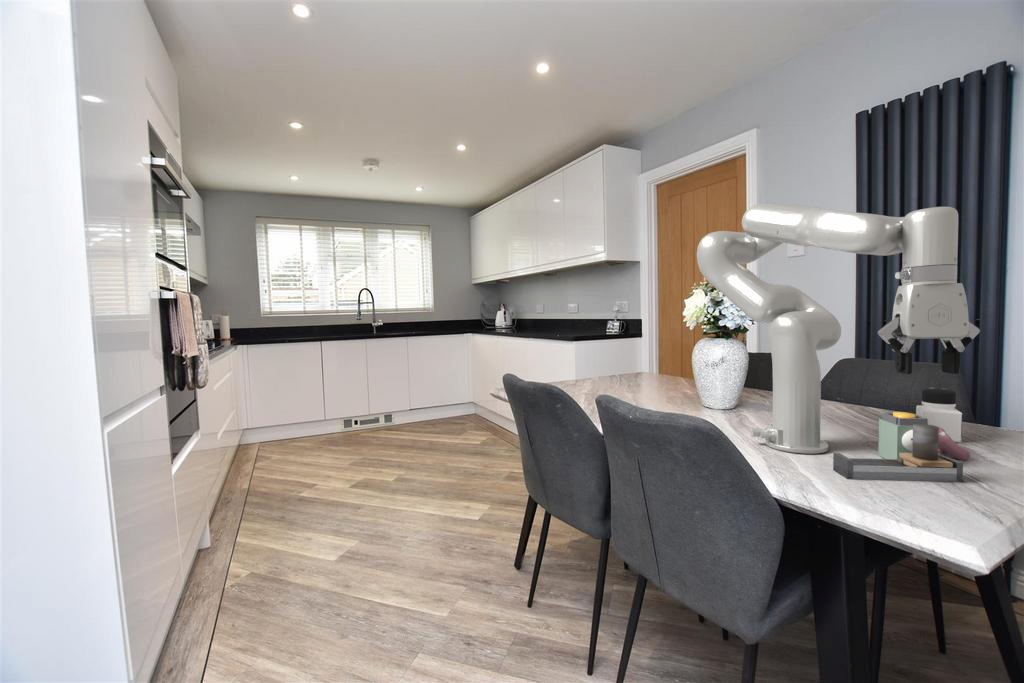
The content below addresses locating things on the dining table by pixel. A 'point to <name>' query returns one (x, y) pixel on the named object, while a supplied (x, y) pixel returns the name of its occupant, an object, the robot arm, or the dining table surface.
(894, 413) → the button
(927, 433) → the carriage
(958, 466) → the track
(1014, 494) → the dining table surface
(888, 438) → the gauge cabinet
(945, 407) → the medicine bottle
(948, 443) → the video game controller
